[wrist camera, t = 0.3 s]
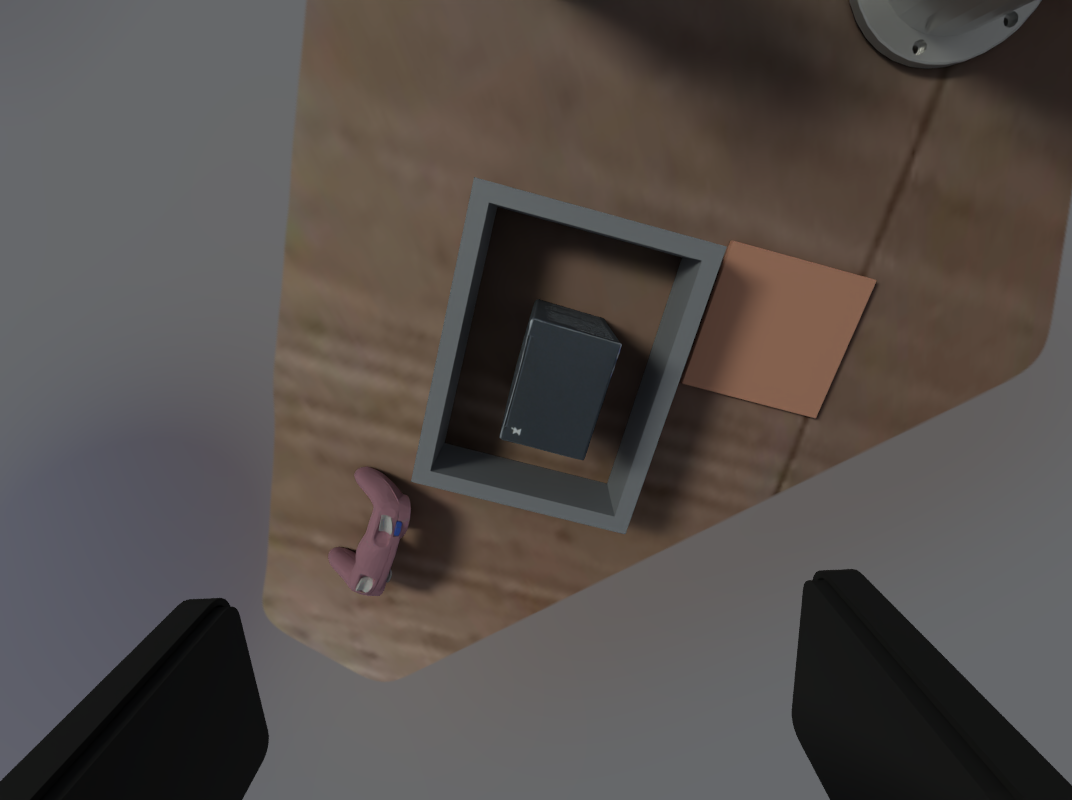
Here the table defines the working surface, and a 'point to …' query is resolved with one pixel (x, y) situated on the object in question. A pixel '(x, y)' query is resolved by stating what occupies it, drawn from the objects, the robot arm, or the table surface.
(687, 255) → the enclosure
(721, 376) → the mat
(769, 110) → the table surface
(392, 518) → the video game controller
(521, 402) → the box
